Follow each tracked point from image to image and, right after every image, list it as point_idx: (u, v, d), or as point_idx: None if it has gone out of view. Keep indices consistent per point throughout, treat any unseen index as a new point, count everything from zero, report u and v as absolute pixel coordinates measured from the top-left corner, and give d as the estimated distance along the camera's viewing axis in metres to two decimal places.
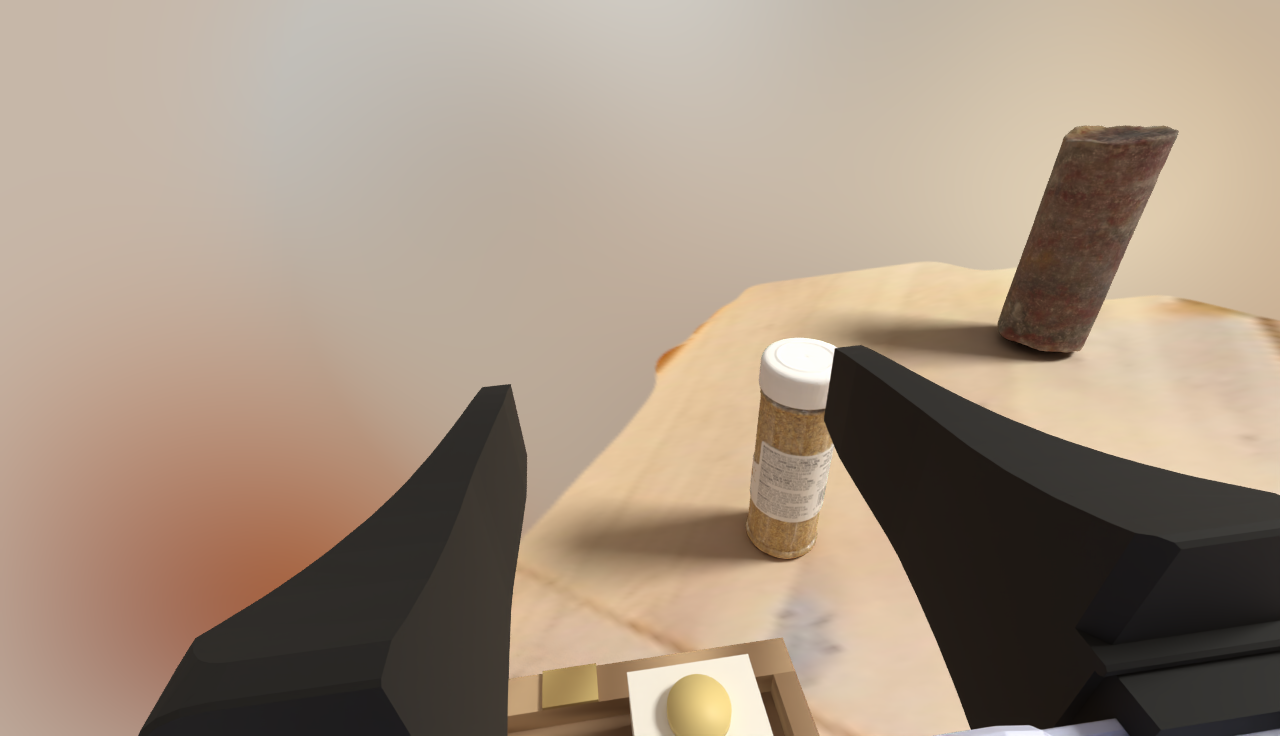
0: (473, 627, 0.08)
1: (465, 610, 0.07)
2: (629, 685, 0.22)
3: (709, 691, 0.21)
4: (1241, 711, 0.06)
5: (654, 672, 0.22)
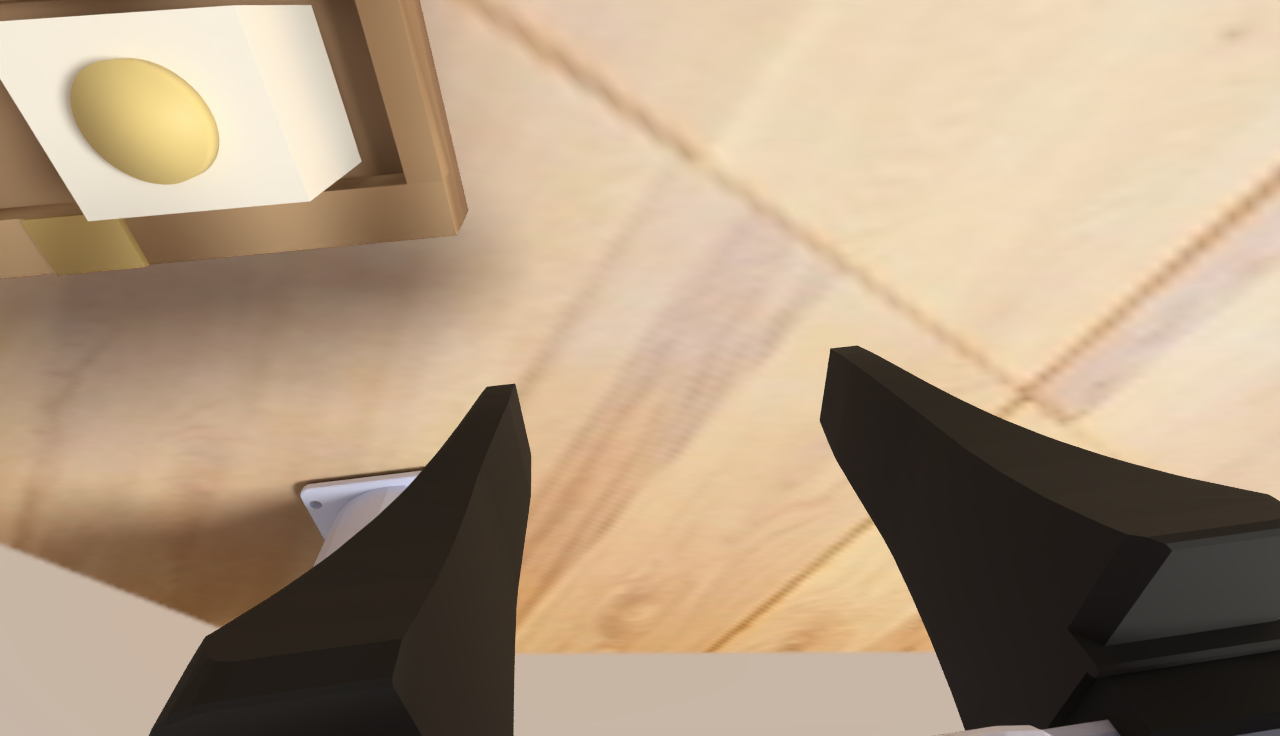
0: (480, 626, 0.08)
1: (472, 609, 0.08)
2: None
3: (154, 99, 0.11)
4: (1234, 712, 0.06)
5: (31, 30, 0.11)
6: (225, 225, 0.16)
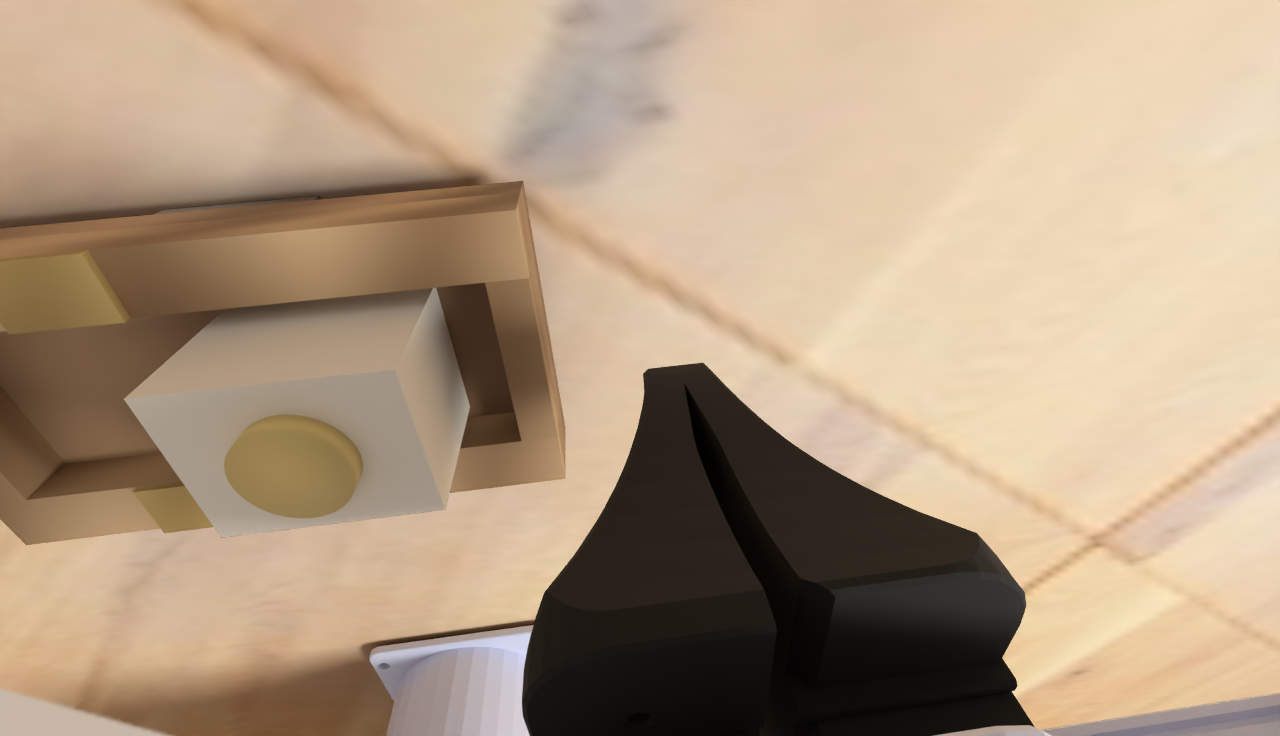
0: None
1: None
2: (141, 419, 0.11)
3: (308, 456, 0.11)
4: None
5: (188, 400, 0.11)
6: None
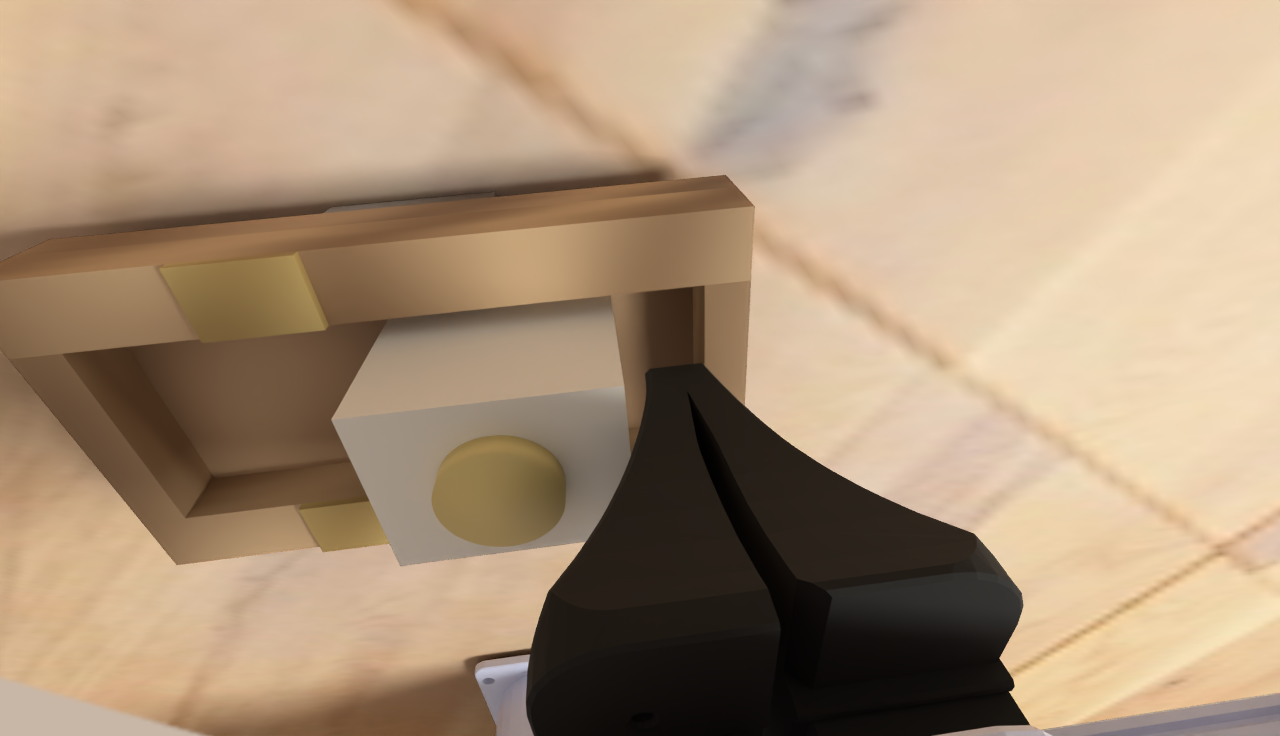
0: None
1: None
2: (344, 441, 0.10)
3: (523, 481, 0.10)
4: None
5: (399, 420, 0.10)
6: None
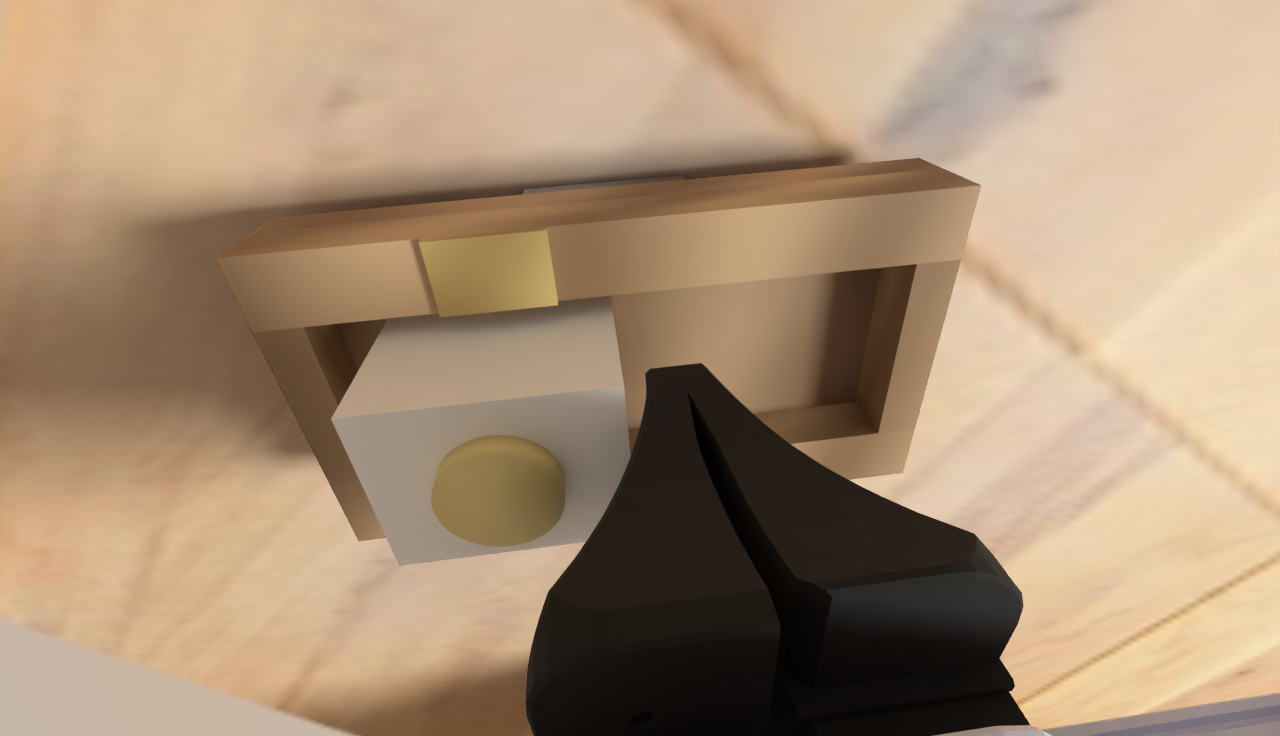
0: None
1: None
2: (344, 441, 0.10)
3: (522, 481, 0.10)
4: None
5: (399, 420, 0.10)
6: None
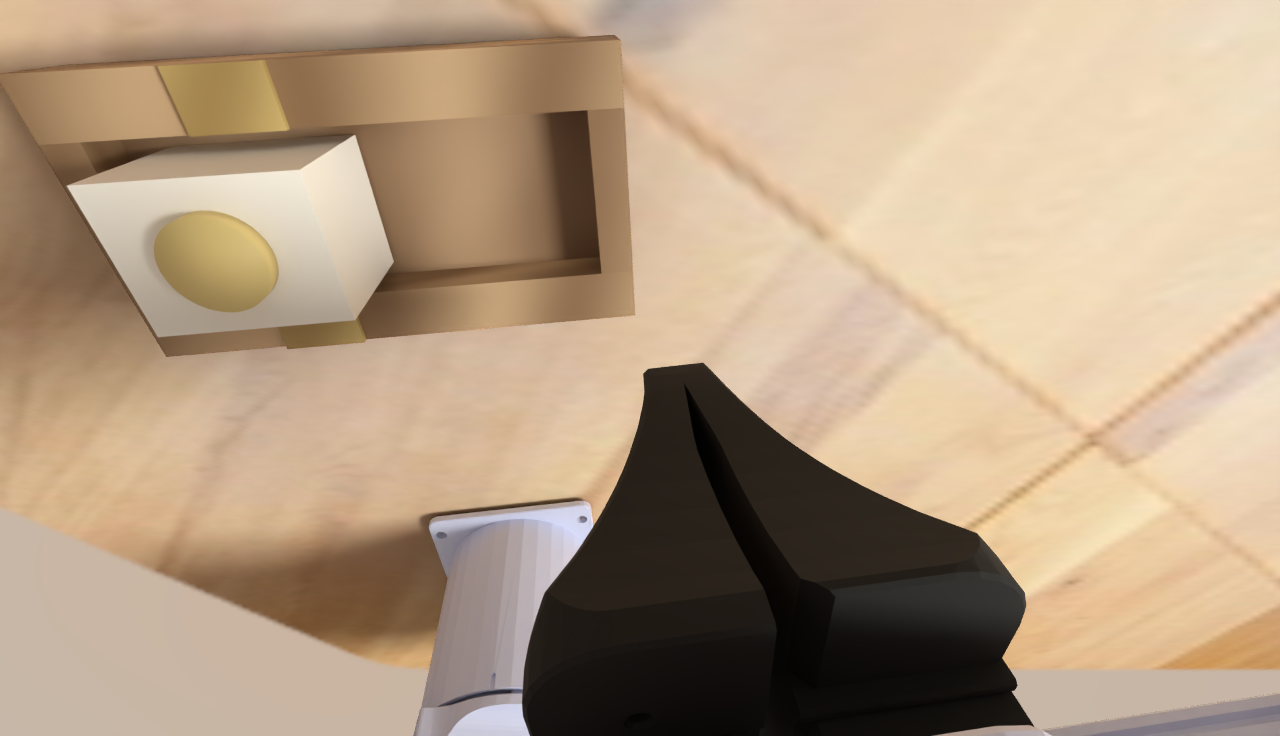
0: None
1: None
2: (83, 208, 0.13)
3: (227, 246, 0.13)
4: None
5: (122, 190, 0.13)
6: (438, 307, 0.18)
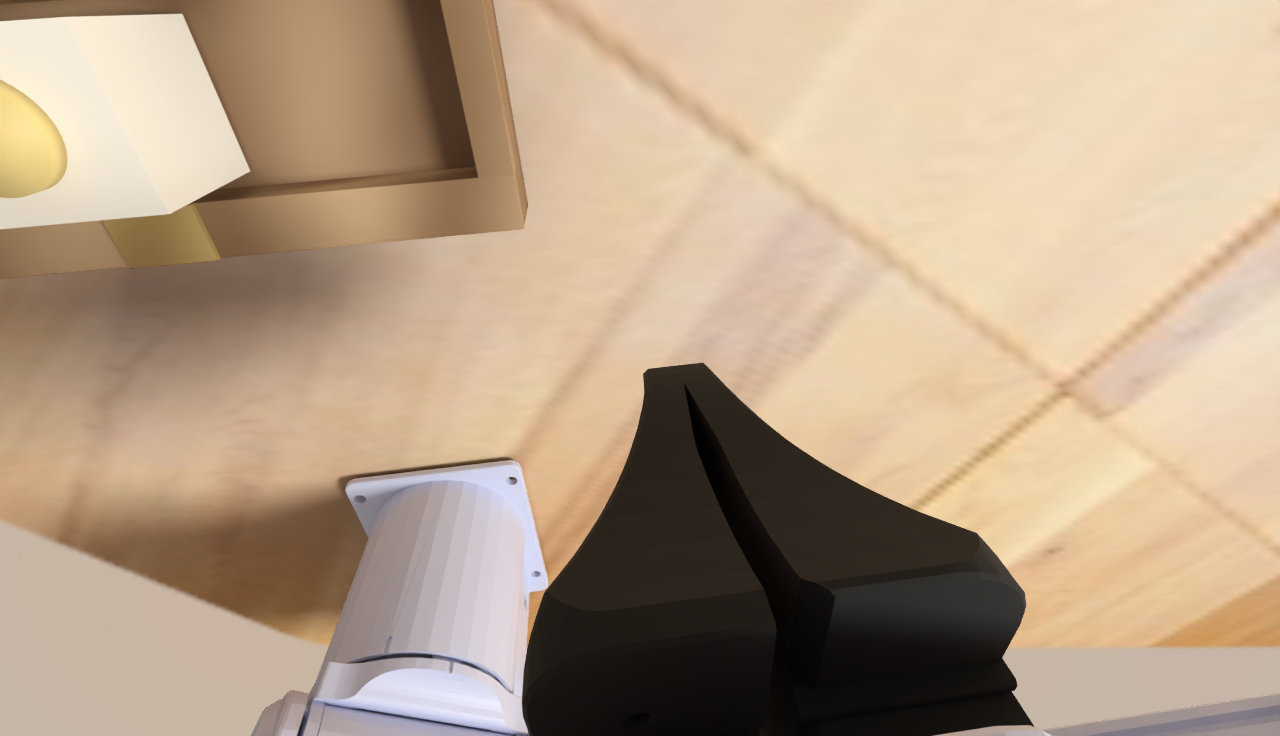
0: None
1: None
2: None
3: None
4: None
5: None
6: (297, 218, 0.16)
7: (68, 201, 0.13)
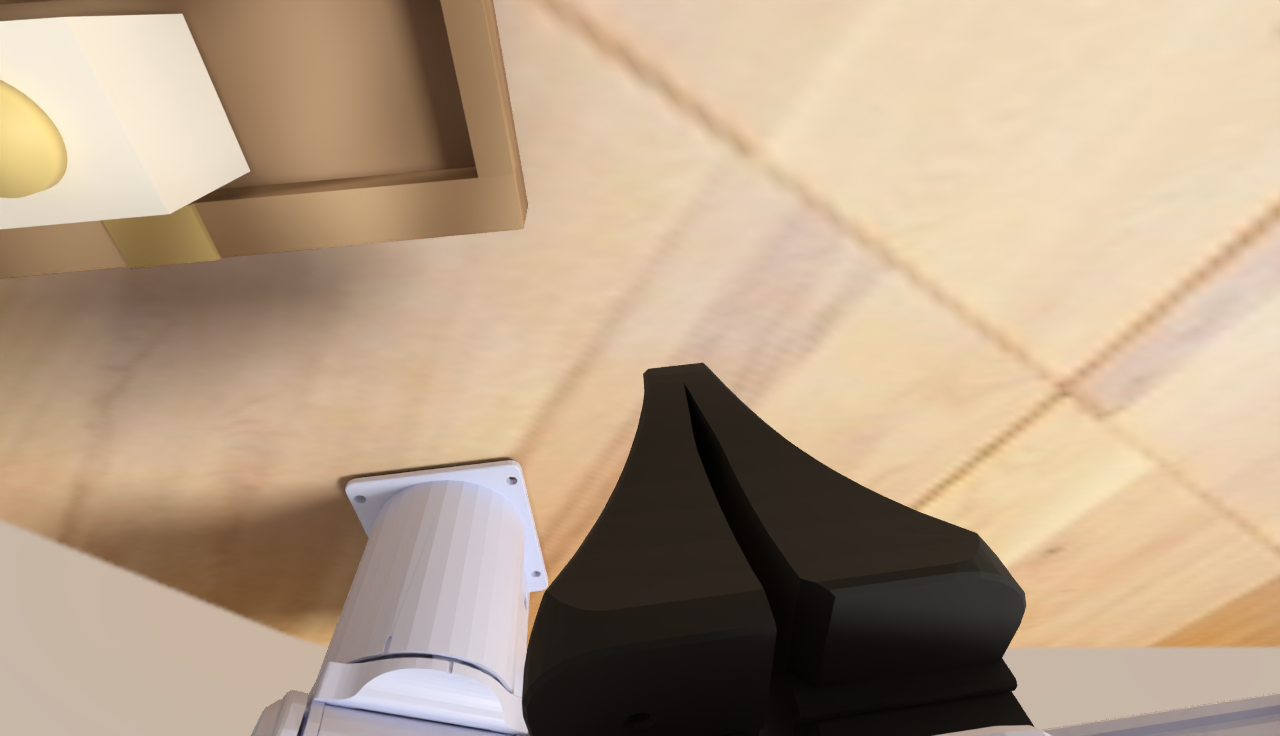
0: None
1: None
2: None
3: None
4: None
5: None
6: (297, 218, 0.16)
7: (68, 201, 0.13)
